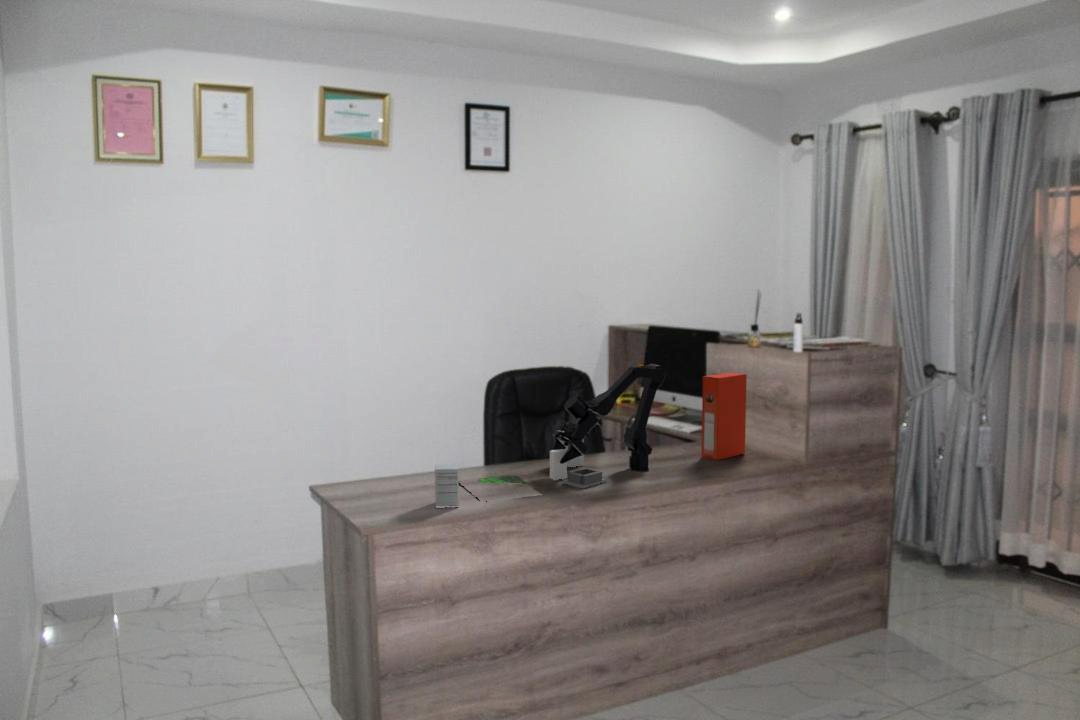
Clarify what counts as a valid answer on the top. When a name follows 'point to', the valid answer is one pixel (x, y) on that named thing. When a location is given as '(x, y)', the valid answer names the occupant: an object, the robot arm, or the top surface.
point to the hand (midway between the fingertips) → (554, 460)
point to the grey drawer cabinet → (446, 485)
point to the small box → (575, 459)
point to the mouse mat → (502, 480)
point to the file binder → (723, 415)
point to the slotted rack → (584, 477)
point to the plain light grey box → (557, 465)
